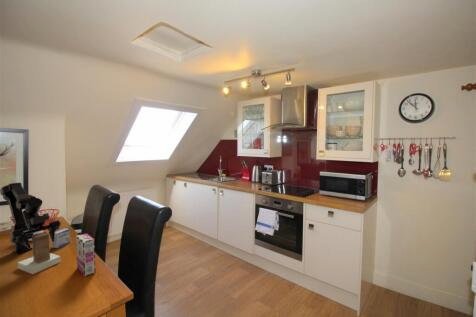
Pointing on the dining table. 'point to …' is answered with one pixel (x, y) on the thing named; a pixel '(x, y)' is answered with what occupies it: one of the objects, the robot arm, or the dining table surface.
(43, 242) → the walnut block
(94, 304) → the dining table surface
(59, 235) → the medicine box
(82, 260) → the candy bar box
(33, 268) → the sage base
